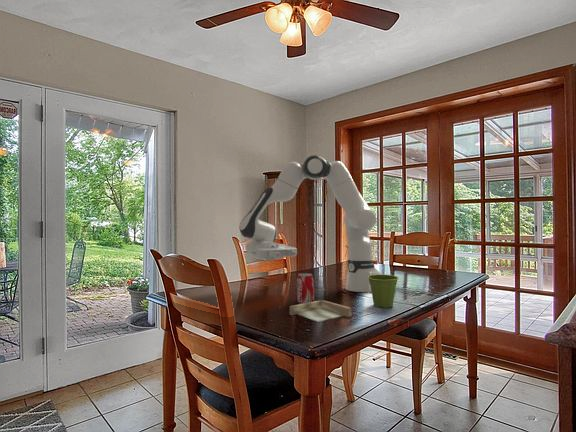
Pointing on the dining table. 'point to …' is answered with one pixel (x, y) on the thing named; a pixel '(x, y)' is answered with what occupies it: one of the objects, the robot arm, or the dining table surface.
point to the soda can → (305, 288)
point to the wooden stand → (320, 310)
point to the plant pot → (383, 289)
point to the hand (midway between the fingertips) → (286, 254)
